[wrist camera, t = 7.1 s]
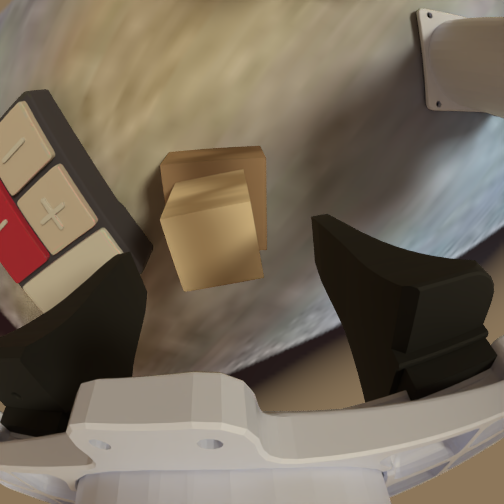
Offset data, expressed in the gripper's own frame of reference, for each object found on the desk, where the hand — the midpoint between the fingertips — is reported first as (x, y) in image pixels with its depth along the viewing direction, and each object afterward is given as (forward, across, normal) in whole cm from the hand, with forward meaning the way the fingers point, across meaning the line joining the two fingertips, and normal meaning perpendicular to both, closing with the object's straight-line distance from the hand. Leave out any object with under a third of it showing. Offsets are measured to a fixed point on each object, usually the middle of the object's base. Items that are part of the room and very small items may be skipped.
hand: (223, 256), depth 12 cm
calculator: (+11, +14, -1) cm, 18 cm away
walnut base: (+11, +1, +1) cm, 11 cm away
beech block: (+7, +1, +1) cm, 7 cm away
